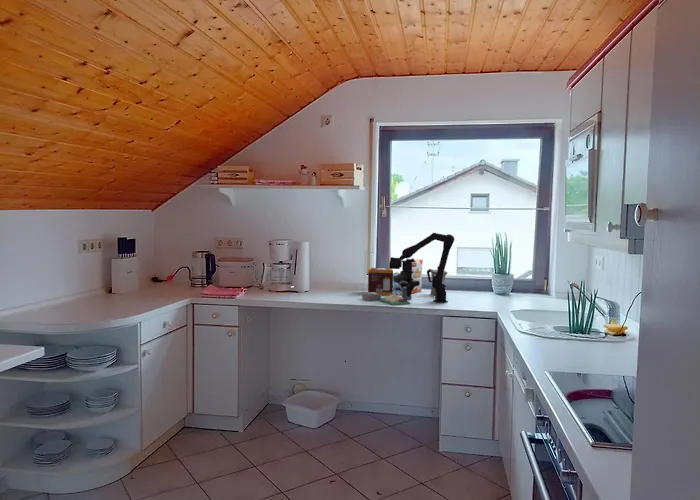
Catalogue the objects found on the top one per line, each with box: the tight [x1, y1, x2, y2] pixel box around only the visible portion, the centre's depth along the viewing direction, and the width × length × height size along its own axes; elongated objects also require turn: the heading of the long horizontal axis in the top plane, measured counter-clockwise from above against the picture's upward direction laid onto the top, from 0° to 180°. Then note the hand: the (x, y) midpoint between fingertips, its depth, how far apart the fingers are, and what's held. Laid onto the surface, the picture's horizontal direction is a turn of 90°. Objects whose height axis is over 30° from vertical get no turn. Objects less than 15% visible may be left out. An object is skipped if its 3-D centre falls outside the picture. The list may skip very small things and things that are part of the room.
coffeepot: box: [426, 265, 448, 297], centre depth 313 cm, size 15×9×18 cm, turn 44°
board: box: [378, 293, 411, 306], centre depth 288 cm, size 16×11×3 cm
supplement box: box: [367, 267, 394, 296], centre depth 316 cm, size 10×15×16 cm
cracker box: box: [411, 258, 424, 295], centre depth 320 cm, size 14×6×21 cm, turn 143°
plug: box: [401, 287, 412, 301], centre depth 296 cm, size 4×5×7 cm
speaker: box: [361, 291, 382, 302], centre depth 295 cm, size 8×8×4 cm
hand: (406, 295), depth 297 cm, fingers closed on plug, 4 cm apart
